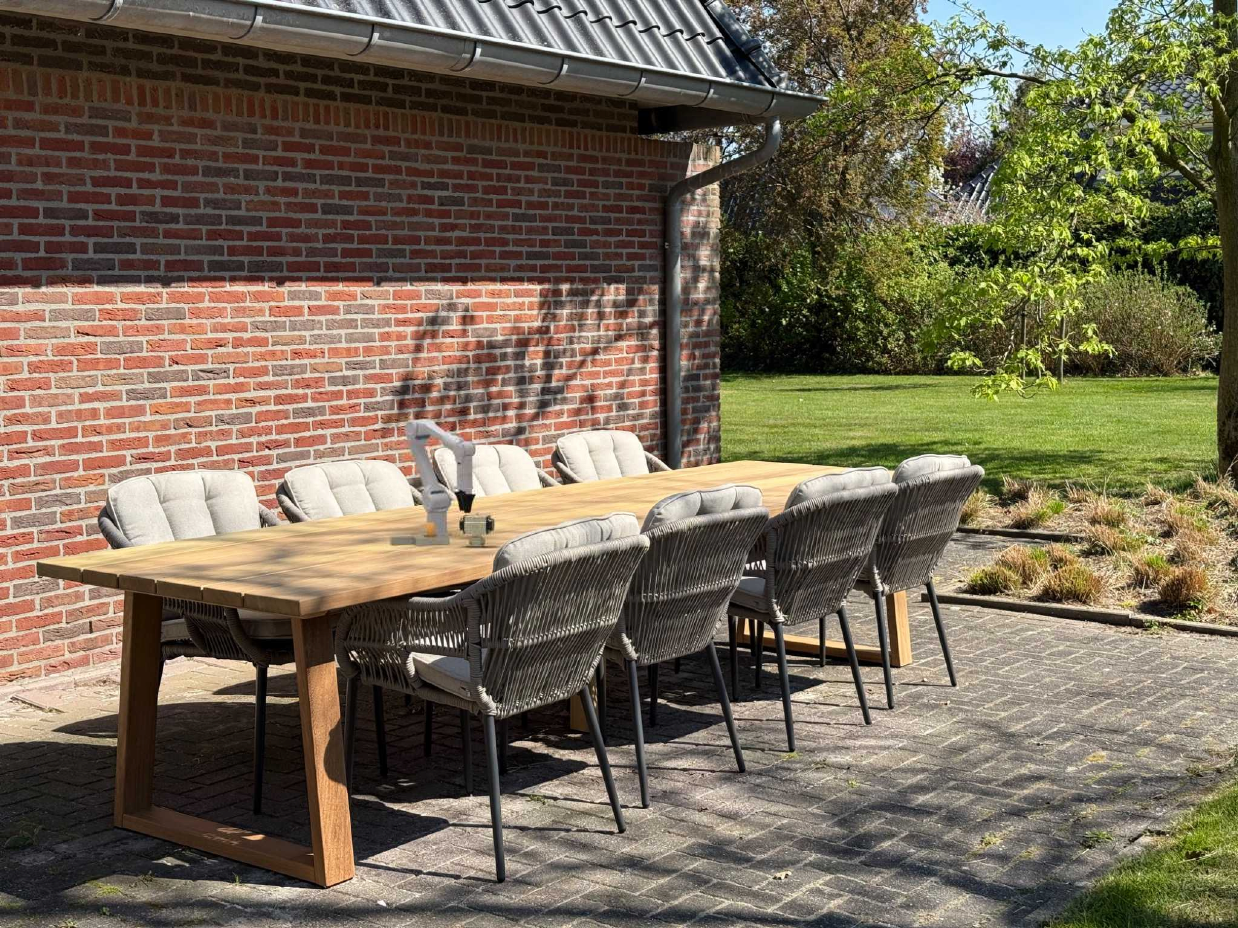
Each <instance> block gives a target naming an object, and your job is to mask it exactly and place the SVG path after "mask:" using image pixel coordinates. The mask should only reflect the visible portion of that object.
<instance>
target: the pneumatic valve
mask: <svg viewBox="0 0 1238 928" xmlns="http://www.w3.org/2000/svg"><path fill="white" fill-rule="evenodd" d="M458 525H459V527H458V528H459V531H462V534H463V535H472V537H470V538H469V540H468V543H469V545H470V547H471V548H481V547H483V546H485V544H486V539H485V538H484V536H483V535H490V534H491V533H492V532H494V530H495V526H496V524H495V519H494V518H492V515H491V514H479V512H475V514H465V515H463V516H462V517H461V518H460V519H459V524H458Z"/></svg>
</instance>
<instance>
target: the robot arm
mask: <svg viewBox="0 0 1238 928" xmlns="http://www.w3.org/2000/svg"><path fill="white" fill-rule="evenodd" d="M403 432H404V434H405V437H406V439H407V441H408V447H409V449H410V450H409V451H410V453H411V456H412V458H413V461H414V463H415V465H416V469H417V472H418V475H419V476H420V480H421V482H422V484H423V487H424V489H423V491H422V492H421V494H420V496H421V499H422V500H421V502H422V507H423V508H424V510H425V512H426V514H427V515H426V523H435V533H444V534H446V535H447V536H449V537H450V535H451V534H450V533H449V532H448V512H449V509H450V507H451V505H452V497H451V495H450V494H449V493H448V491H447V489H446V487H445V486H443V485H441V484H440V483H439V481H438V477H437V476H436V472H435V470H434V467H433V465H432V462H431V460H430V457H429V454H428V452H427V449H426V444H427V443H428V442H429V441H430V439H431V437H433V438H436V439H437V440H439V441H441V444H442V446H443V447H444V448H445V449H448V450H450V451H451V452H452V454H453V456H454V461H455V462H456V486H453V489H454V490H458V491H454V492H453V493H454V495H455V498H456V500H457V504H458V508H459V511H460V512H463V513H464V514H471V512H472V508H473V507H472V506H473V503H474V499H475V498H476V493H473V490H474V486H473V485H474V483H473V479H474V478H473V457H474V455H475V453H476V450H477V449H476V445H475V443H474V442H472V440H468V441H466V440H465V439H464V438H463V437H459V436H458V435H457V433H456V432H454V431H450V432H446V431H445V430H444V429H442V428H441V427H440V426H438V425H437V424H436V422H435V421H434V420H432V419H430V418H425V419H424V418H423V419H409V420H407V422H406V423H405V427H404V431H403ZM423 534H426V531H424V533H423Z"/></svg>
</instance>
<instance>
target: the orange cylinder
mask: <svg viewBox="0 0 1238 928" xmlns="http://www.w3.org/2000/svg"><path fill="white" fill-rule="evenodd" d="M425 529H426V531H425V532H426V537H434V536H435V523H427V522H426V527H425Z"/></svg>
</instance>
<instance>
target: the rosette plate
mask: <svg viewBox="0 0 1238 928" xmlns="http://www.w3.org/2000/svg"><path fill="white" fill-rule="evenodd" d="M450 538H451V537H450V535H449V536H447V535H446V534H444V533H435V536H434V537H426V534H425V533H412V534H410V535H402V536H401V535H399V536H396V535H395V536H389V544H390V545H391V546H406V545H414V546H416V547H417V546H421V547H422V546H439V545H440V546H442V545H450V543H451V541H450V540H451V539H450Z"/></svg>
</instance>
